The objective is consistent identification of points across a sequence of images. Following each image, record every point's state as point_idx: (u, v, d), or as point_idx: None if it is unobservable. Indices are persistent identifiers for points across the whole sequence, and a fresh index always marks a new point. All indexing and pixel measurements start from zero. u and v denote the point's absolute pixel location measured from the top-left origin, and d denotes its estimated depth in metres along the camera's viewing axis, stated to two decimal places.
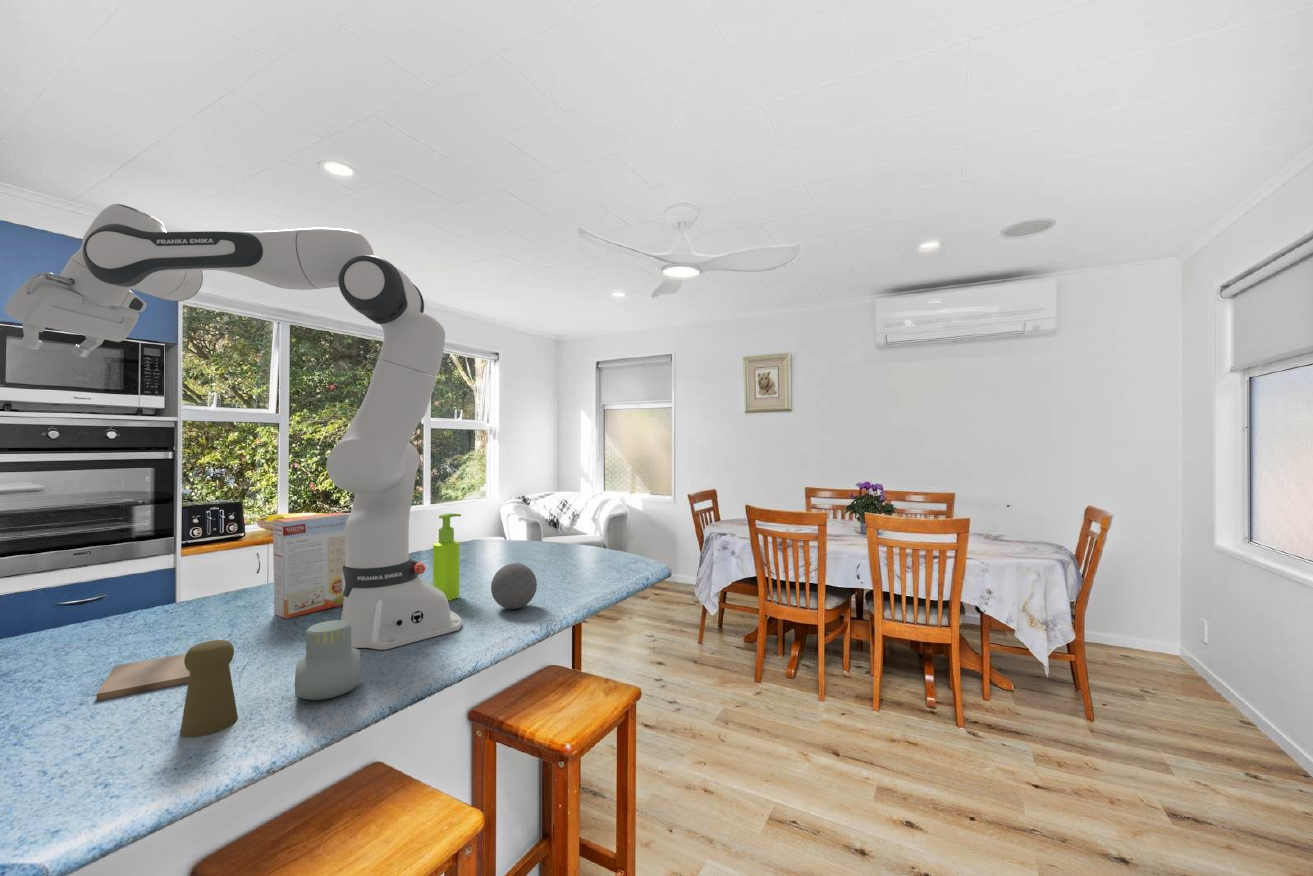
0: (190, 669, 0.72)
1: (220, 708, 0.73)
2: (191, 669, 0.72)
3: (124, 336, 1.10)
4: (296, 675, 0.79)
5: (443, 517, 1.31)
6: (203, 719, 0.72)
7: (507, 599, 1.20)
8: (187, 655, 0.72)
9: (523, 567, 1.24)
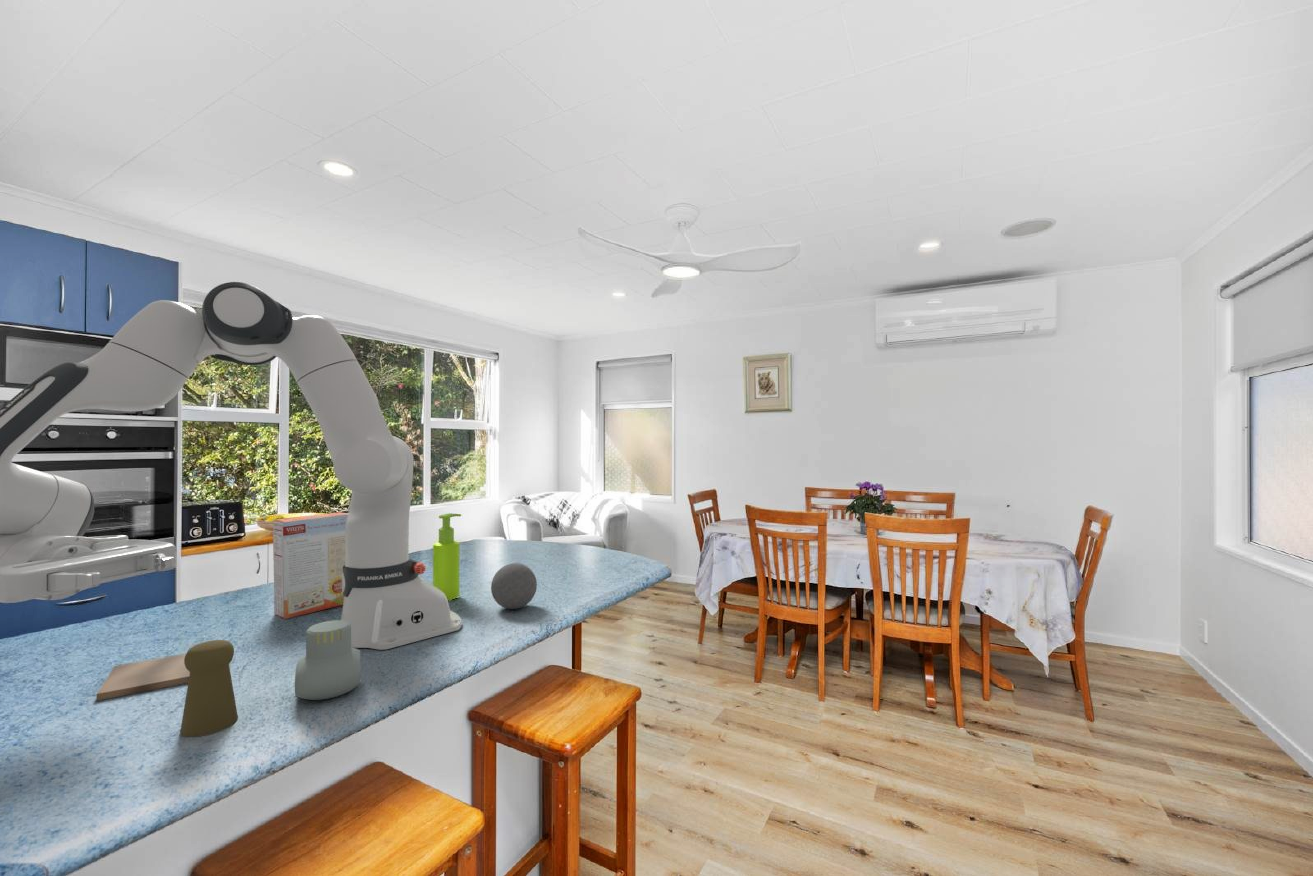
0: (190, 669, 0.72)
1: (220, 708, 0.73)
2: (191, 669, 0.72)
3: (165, 543, 0.86)
4: (296, 675, 0.79)
5: (443, 517, 1.31)
6: (203, 719, 0.72)
7: (507, 599, 1.20)
8: (187, 655, 0.72)
9: (523, 567, 1.24)
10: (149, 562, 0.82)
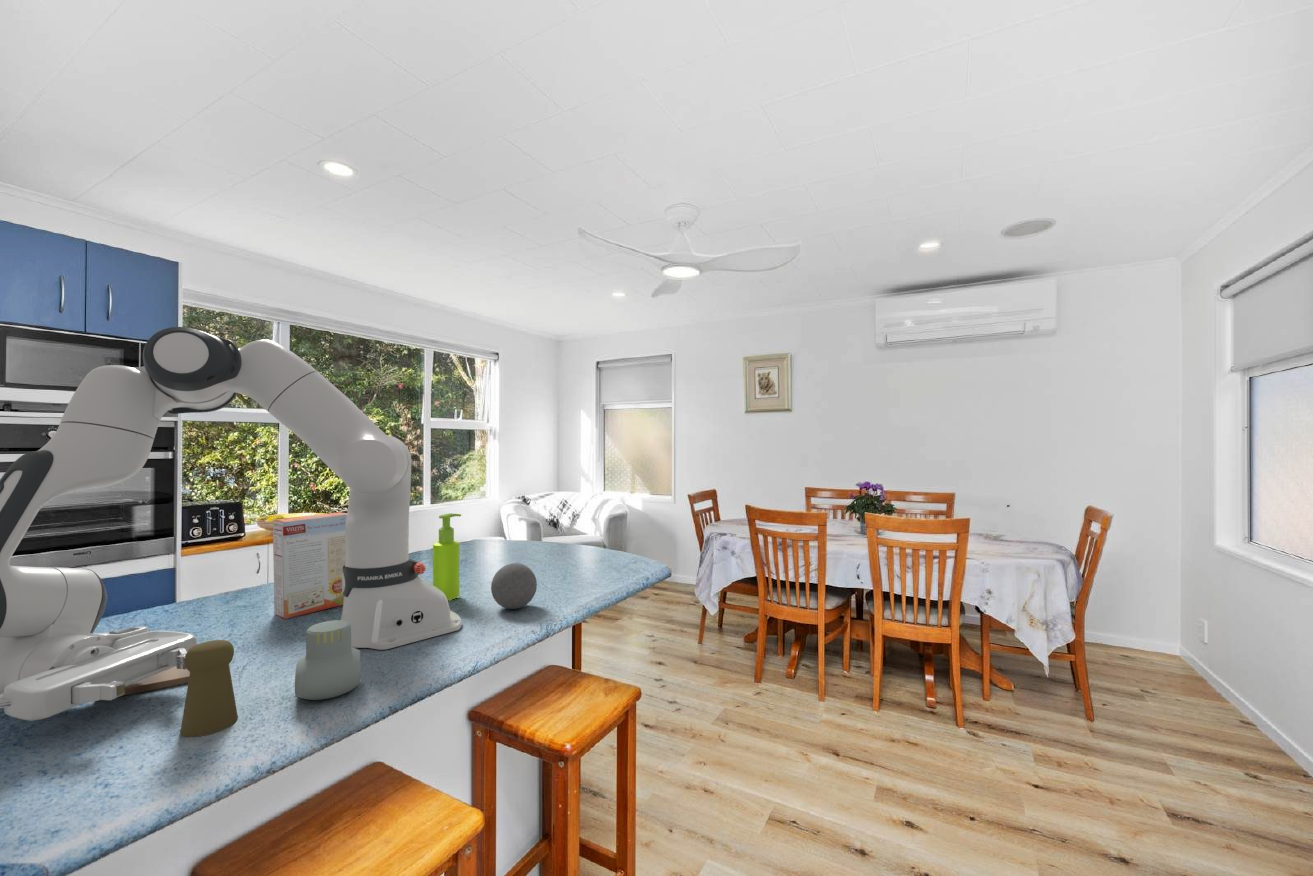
0: (190, 669, 0.72)
1: (220, 708, 0.73)
2: (191, 669, 0.72)
3: (186, 635, 0.86)
4: (296, 675, 0.79)
5: (443, 517, 1.31)
6: (203, 719, 0.72)
7: (507, 599, 1.20)
8: (187, 655, 0.72)
9: (523, 567, 1.24)
10: (171, 658, 0.81)
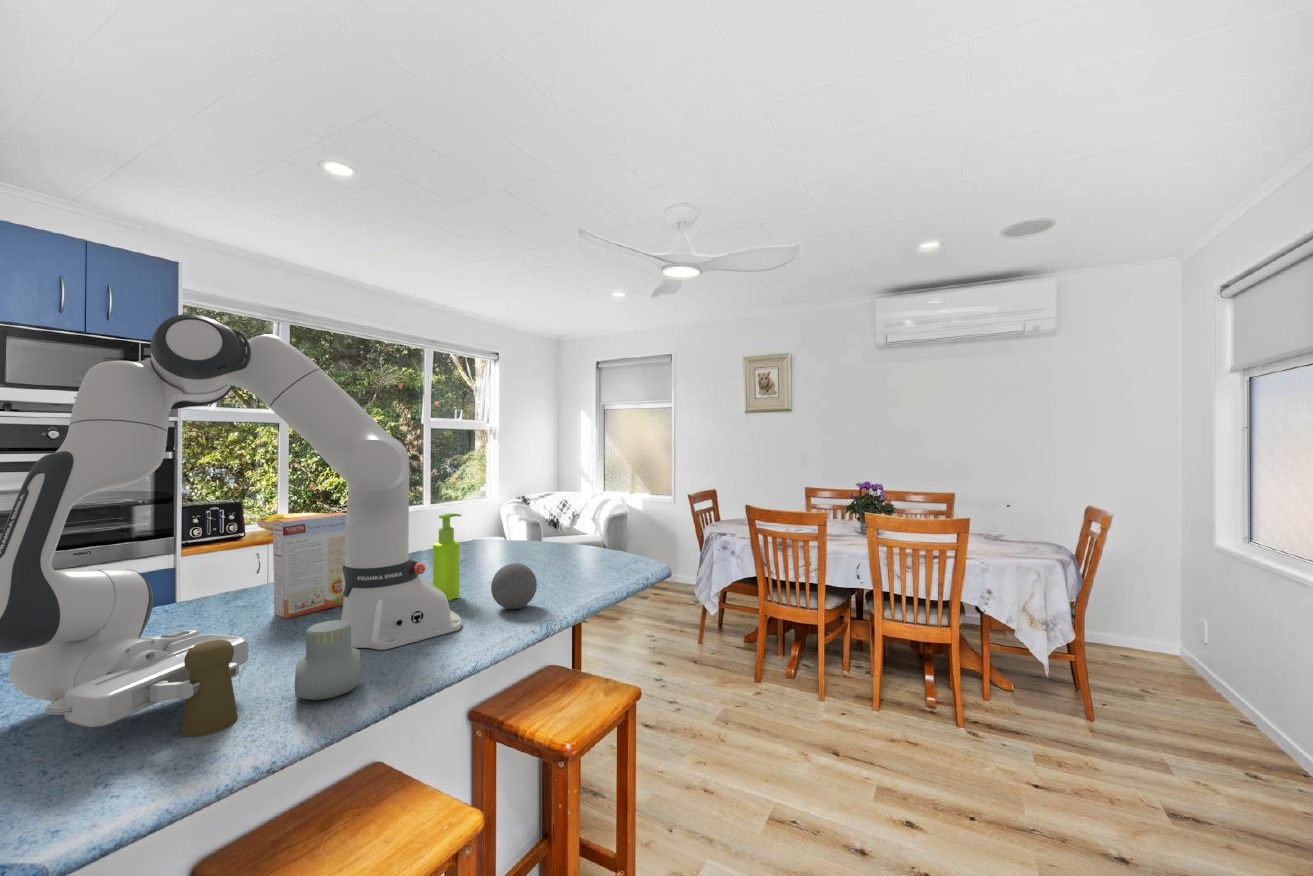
0: (190, 669, 0.72)
1: (220, 708, 0.73)
2: (191, 669, 0.72)
3: (237, 638, 0.84)
4: (296, 675, 0.79)
5: (443, 517, 1.31)
6: (203, 719, 0.72)
7: (507, 599, 1.20)
8: (187, 655, 0.72)
9: (523, 567, 1.24)
10: None
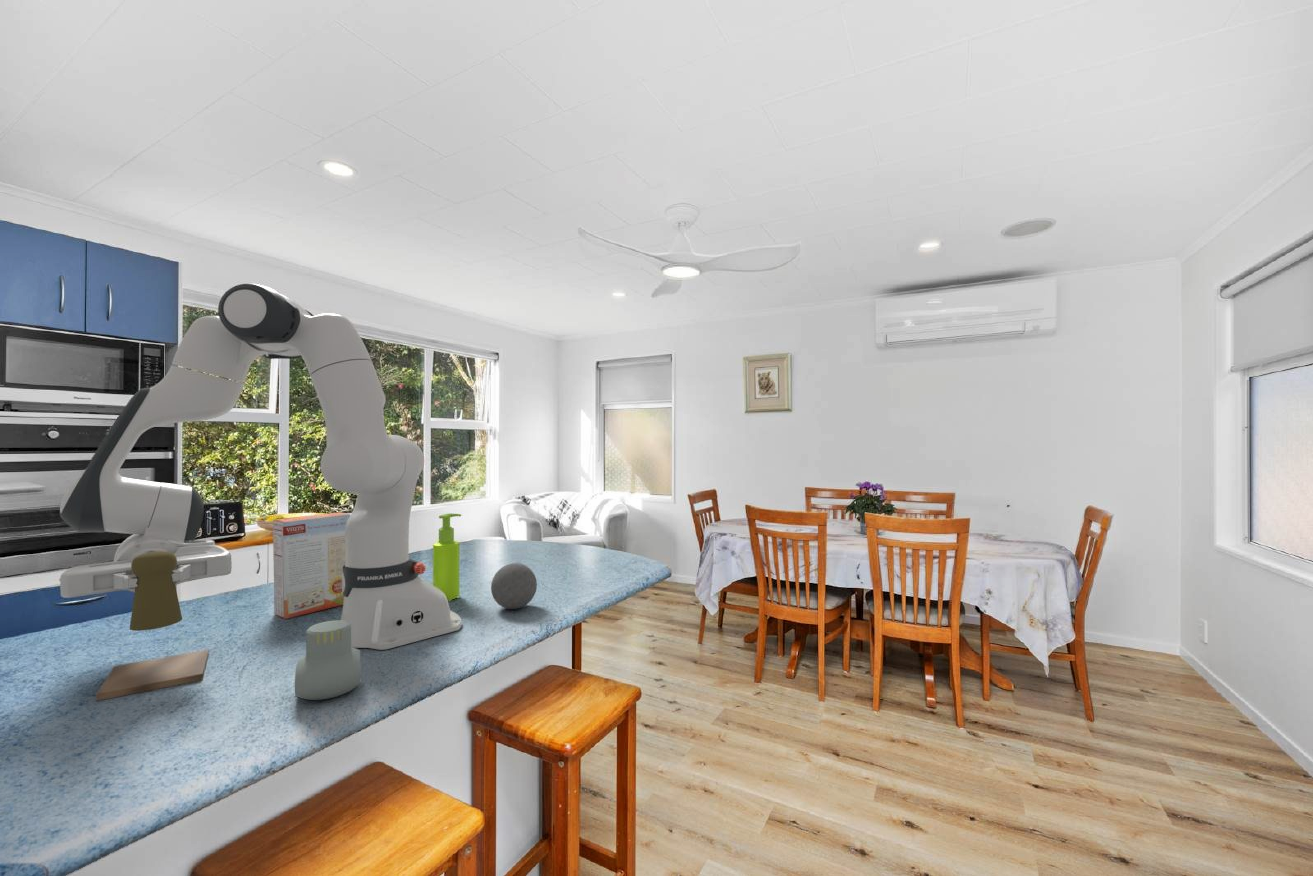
0: None
1: (147, 610, 0.83)
2: None
3: (223, 552, 0.95)
4: (296, 675, 0.79)
5: (443, 517, 1.31)
6: (135, 616, 0.83)
7: (507, 599, 1.20)
8: None
9: (523, 567, 1.24)
10: None
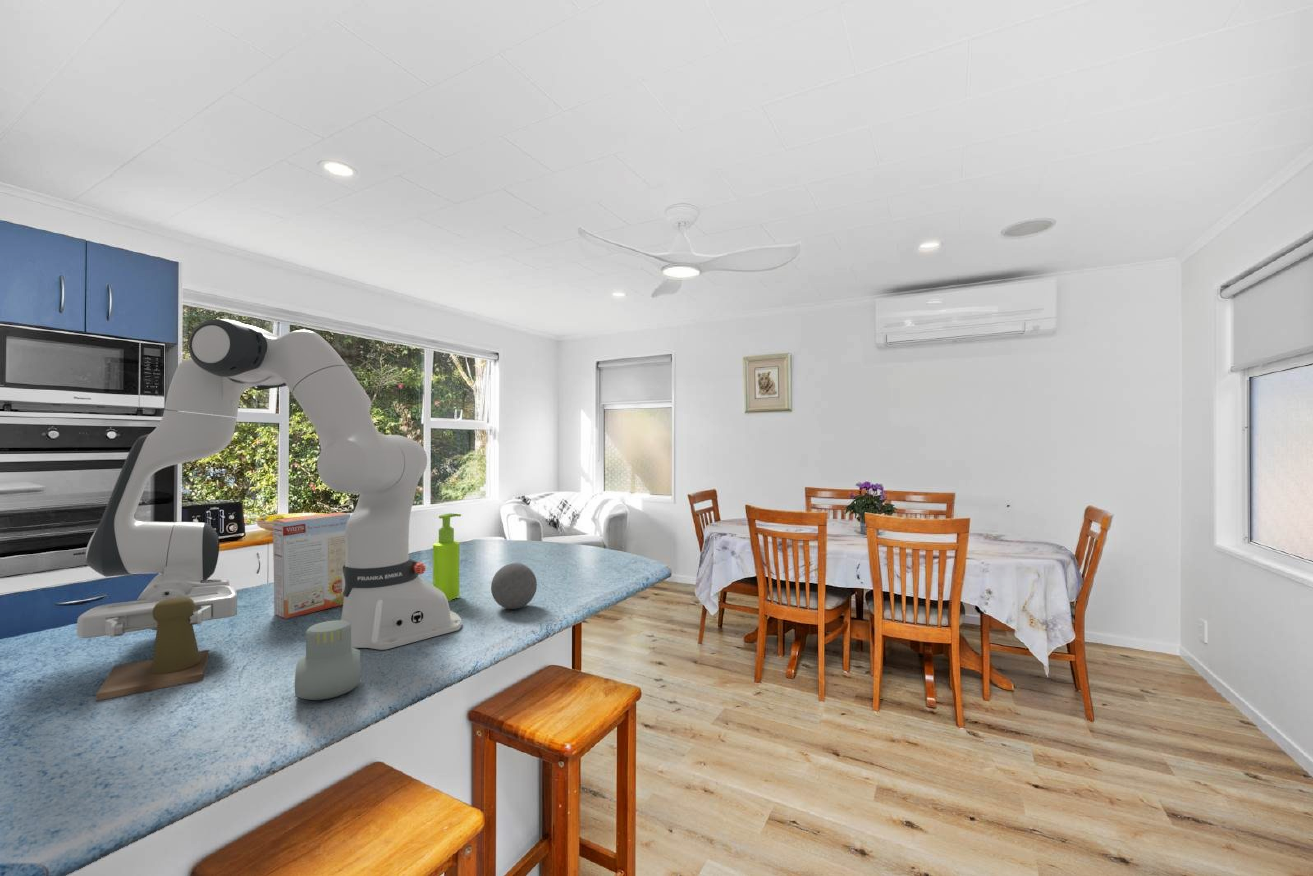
0: None
1: (164, 655, 0.88)
2: None
3: (230, 594, 0.99)
4: (296, 675, 0.79)
5: (443, 517, 1.31)
6: (154, 660, 0.88)
7: (507, 599, 1.20)
8: None
9: (523, 567, 1.24)
10: None
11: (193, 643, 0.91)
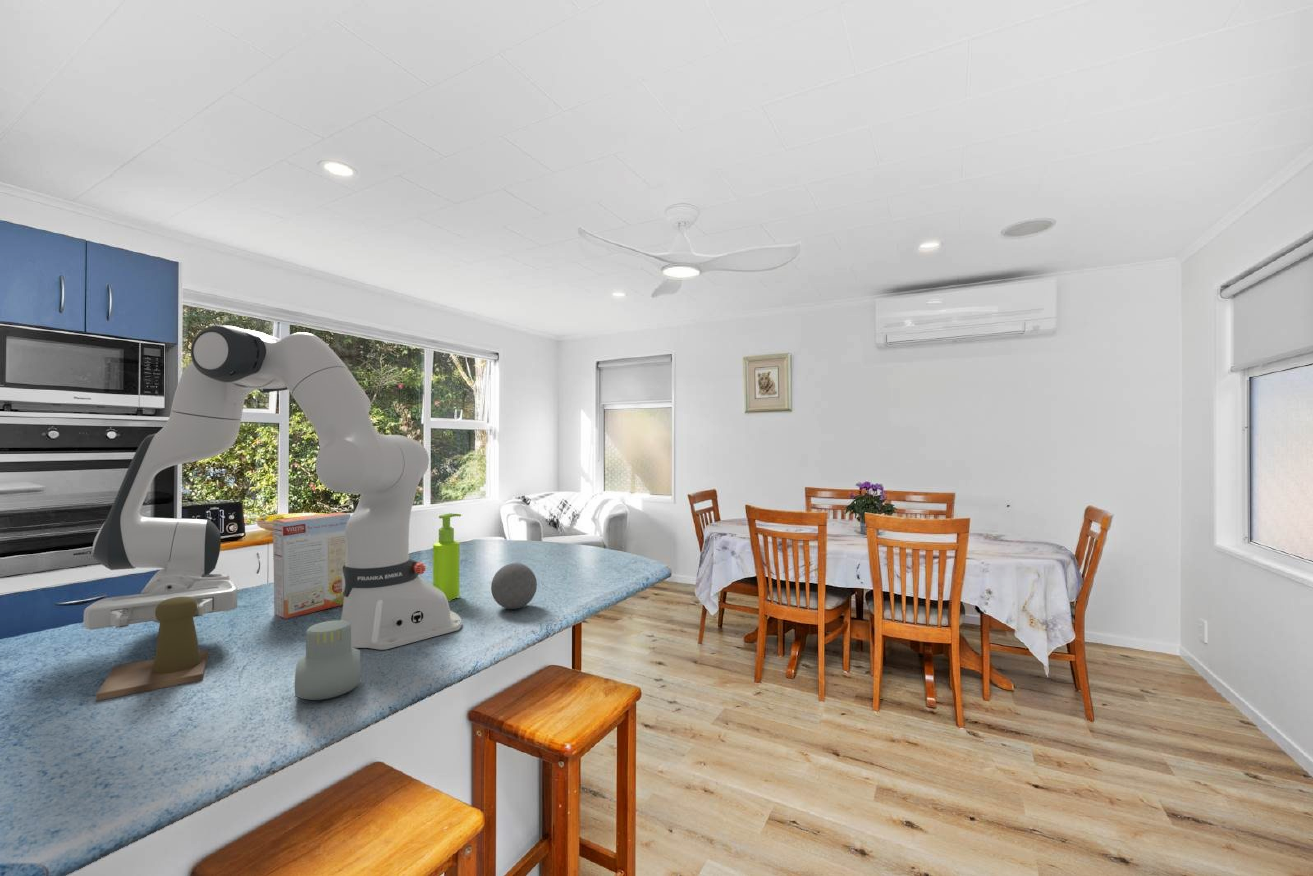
0: None
1: (167, 655, 0.88)
2: None
3: (231, 588, 1.02)
4: (296, 675, 0.79)
5: (443, 517, 1.31)
6: (156, 659, 0.88)
7: (507, 599, 1.20)
8: None
9: (523, 567, 1.24)
10: None
11: (195, 643, 0.91)
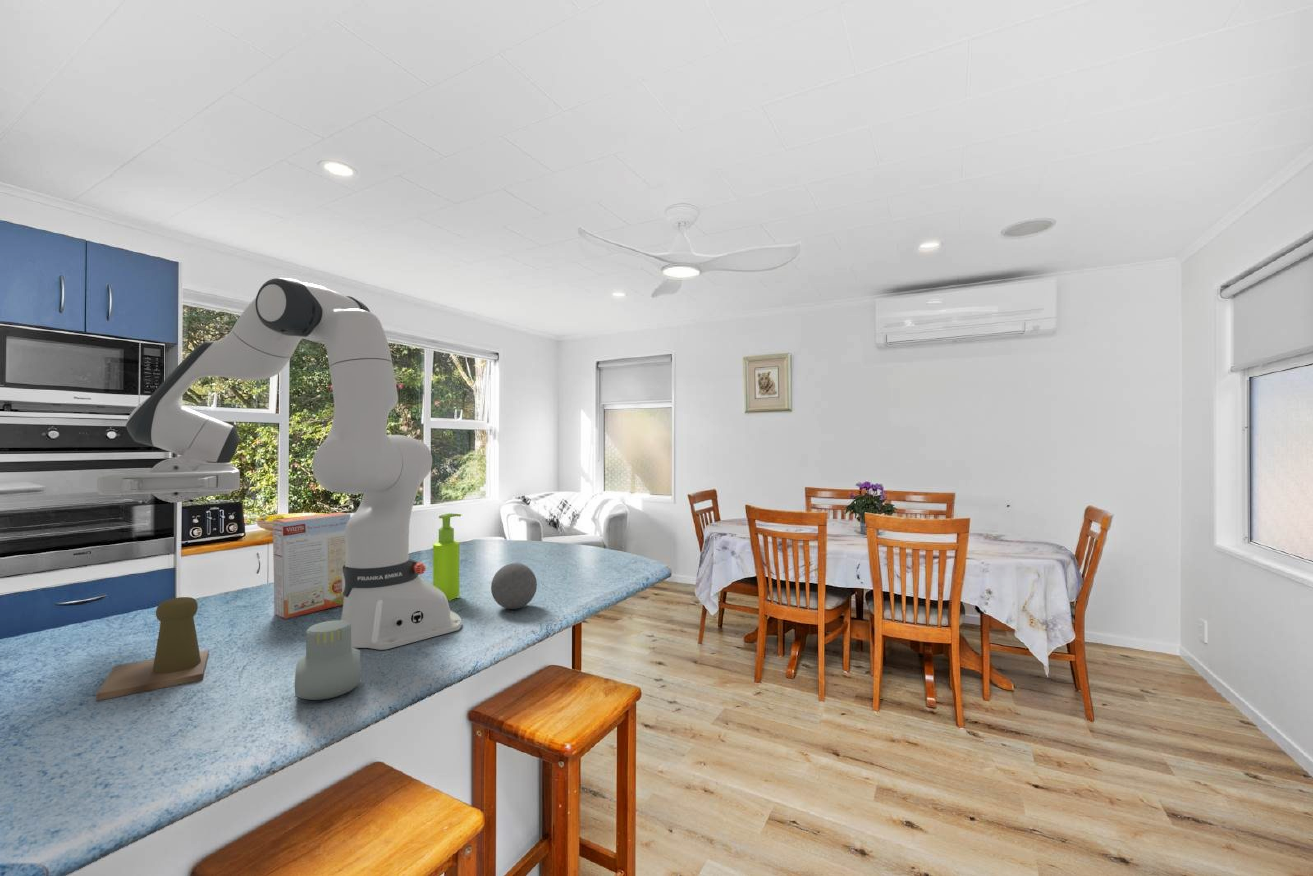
0: None
1: (167, 654, 0.88)
2: None
3: (233, 470, 1.09)
4: (296, 675, 0.79)
5: (443, 517, 1.31)
6: (156, 659, 0.88)
7: (507, 599, 1.20)
8: None
9: (523, 567, 1.24)
10: None
11: (195, 643, 0.91)
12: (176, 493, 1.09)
